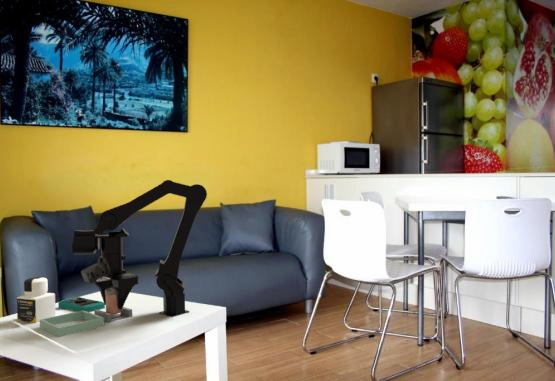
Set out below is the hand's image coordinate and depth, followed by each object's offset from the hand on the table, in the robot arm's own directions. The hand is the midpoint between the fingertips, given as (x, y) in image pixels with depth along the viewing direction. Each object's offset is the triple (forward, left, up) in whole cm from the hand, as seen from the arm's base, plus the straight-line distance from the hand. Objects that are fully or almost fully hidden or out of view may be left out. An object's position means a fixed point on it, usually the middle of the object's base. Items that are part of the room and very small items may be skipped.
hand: (113, 306), depth 137 cm
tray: (0, +12, -3) cm, 12 cm away
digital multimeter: (+18, +1, -4) cm, 18 cm away
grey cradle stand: (0, 0, -3) cm, 3 cm away
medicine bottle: (+16, +15, -4) cm, 22 cm away
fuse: (0, 0, -3) cm, 3 cm away
